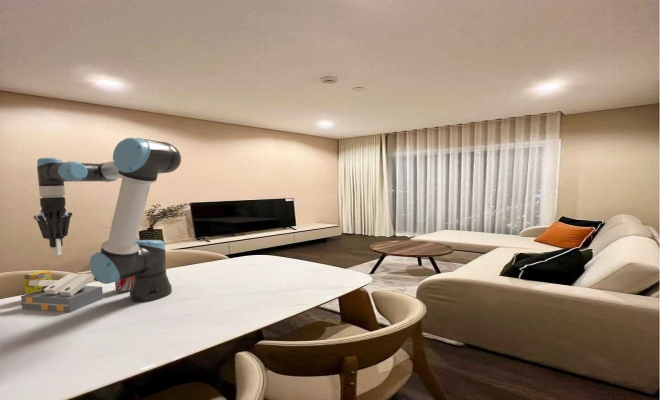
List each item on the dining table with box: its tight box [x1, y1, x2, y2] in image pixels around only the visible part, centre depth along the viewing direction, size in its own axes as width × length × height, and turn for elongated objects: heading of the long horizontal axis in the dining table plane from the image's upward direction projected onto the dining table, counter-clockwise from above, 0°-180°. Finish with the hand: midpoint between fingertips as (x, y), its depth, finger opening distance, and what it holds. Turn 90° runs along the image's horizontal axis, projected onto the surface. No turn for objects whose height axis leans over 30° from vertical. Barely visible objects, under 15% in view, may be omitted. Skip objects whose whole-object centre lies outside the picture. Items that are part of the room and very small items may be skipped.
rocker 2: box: [43, 273, 80, 294], centre depth 117 cm, size 5×10×2 cm, turn 170°
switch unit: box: [20, 285, 104, 313], centre depth 118 cm, size 22×13×6 cm, turn 80°
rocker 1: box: [28, 279, 59, 286], centre depth 119 cm, size 5×10×2 cm, turn 170°
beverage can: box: [114, 276, 134, 294], centre depth 132 cm, size 8×8×12 cm
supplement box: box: [23, 270, 53, 295], centre depth 123 cm, size 6×6×11 cm
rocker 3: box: [59, 273, 95, 296], centre depth 116 cm, size 5×10×2 cm, turn 170°
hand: (57, 254), depth 122 cm, fingers closed
